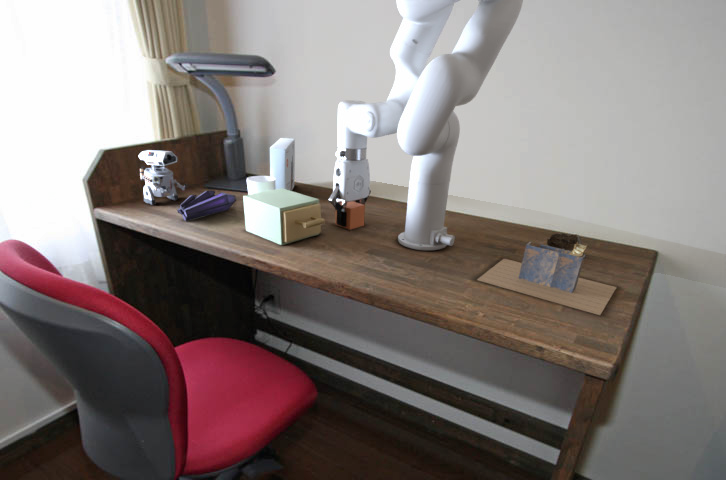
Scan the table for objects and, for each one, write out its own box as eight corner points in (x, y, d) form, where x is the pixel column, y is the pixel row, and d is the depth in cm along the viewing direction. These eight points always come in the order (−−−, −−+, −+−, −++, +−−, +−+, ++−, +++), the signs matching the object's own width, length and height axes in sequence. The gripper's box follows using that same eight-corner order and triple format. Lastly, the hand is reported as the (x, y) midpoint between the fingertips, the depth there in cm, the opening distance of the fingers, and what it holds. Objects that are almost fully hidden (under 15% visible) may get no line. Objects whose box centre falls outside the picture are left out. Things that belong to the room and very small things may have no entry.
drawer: (332, 236, 119) (332, 208, 115) (298, 247, 112) (297, 217, 108) (287, 220, 129) (286, 193, 125) (252, 229, 122) (250, 200, 118)
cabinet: (319, 234, 123) (319, 199, 118) (281, 245, 115) (279, 208, 110) (283, 221, 131) (282, 188, 127) (245, 230, 123) (242, 195, 119)
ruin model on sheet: (616, 287, 101) (632, 243, 96) (600, 315, 89) (616, 267, 84) (504, 258, 113) (512, 218, 108) (476, 279, 101) (484, 236, 96)
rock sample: (601, 238, 116) (584, 217, 112) (592, 264, 114) (574, 243, 110) (563, 244, 125) (545, 224, 120) (554, 268, 123) (536, 249, 119)
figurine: (163, 209, 136) (154, 155, 129) (141, 201, 142) (131, 149, 135) (190, 203, 143) (183, 151, 135) (168, 196, 149) (160, 145, 141)
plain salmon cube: (364, 225, 131) (365, 204, 128) (349, 229, 127) (350, 208, 124) (349, 220, 134) (349, 200, 131) (335, 224, 130) (335, 204, 128)
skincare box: (287, 201, 149) (285, 148, 140) (270, 201, 149) (267, 147, 140) (296, 185, 167) (295, 137, 159) (280, 185, 167) (278, 137, 159)
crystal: (190, 202, 122) (246, 182, 135) (163, 199, 128) (219, 180, 141) (197, 229, 125) (251, 207, 139) (171, 224, 131) (224, 204, 145)
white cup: (244, 216, 134) (241, 180, 128) (256, 209, 140) (253, 174, 135) (270, 219, 132) (268, 183, 127) (281, 212, 139) (279, 177, 134)
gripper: (338, 160, 114) (337, 233, 123) (384, 152, 125) (380, 220, 134) (317, 155, 118) (317, 226, 127) (363, 148, 129) (360, 214, 138)
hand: (349, 222), depth 130 cm, fingers closed on plain salmon cube, 5 cm apart
